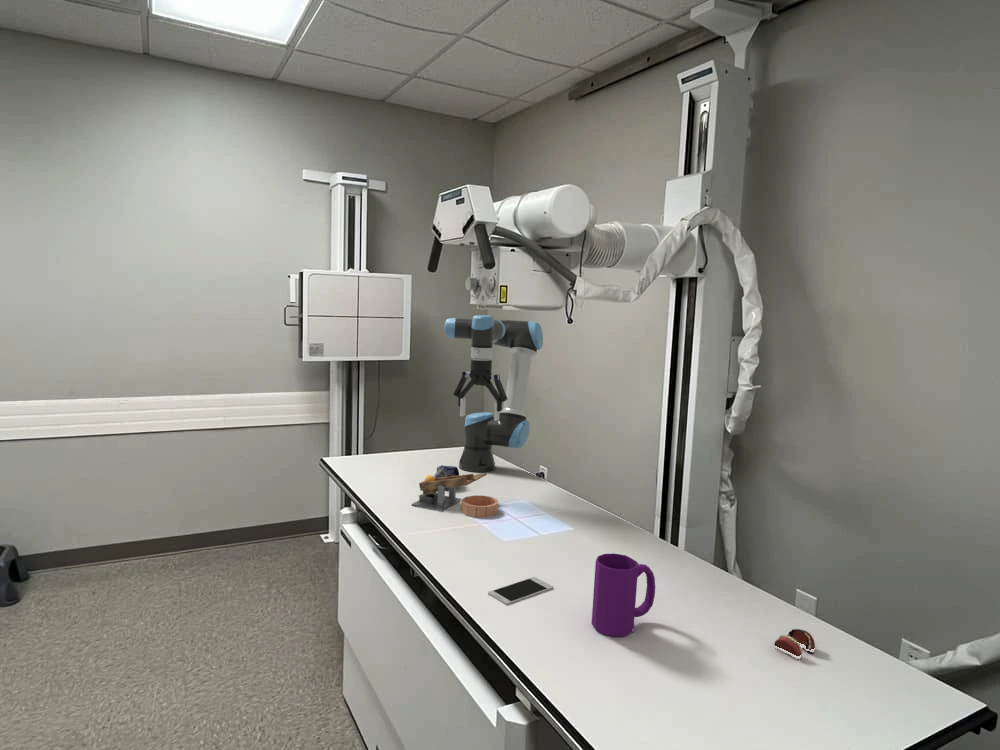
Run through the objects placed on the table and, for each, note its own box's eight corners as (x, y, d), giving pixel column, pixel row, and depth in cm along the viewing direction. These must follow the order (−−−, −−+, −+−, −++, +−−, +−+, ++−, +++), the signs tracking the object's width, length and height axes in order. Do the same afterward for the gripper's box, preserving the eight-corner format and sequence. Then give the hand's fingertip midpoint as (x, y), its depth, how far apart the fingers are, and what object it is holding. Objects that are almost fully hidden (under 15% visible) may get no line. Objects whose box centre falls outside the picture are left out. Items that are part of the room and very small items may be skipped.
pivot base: (411, 505, 212) (412, 483, 211) (432, 495, 225) (433, 473, 224) (441, 511, 208) (442, 488, 207) (461, 500, 220) (461, 478, 220)
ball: (430, 485, 219) (426, 476, 219) (438, 482, 217) (434, 472, 218) (425, 488, 216) (421, 478, 216) (433, 484, 214) (429, 474, 215)
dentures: (772, 630, 131) (794, 621, 136) (770, 649, 132) (791, 640, 136) (798, 644, 127) (819, 634, 131) (795, 663, 127) (816, 653, 132)
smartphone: (554, 590, 155) (554, 586, 155) (506, 607, 145) (506, 603, 145) (534, 579, 161) (534, 576, 160) (487, 595, 151) (487, 591, 150)
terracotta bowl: (471, 503, 218) (471, 493, 217) (503, 509, 213) (503, 499, 213) (455, 513, 207) (455, 502, 206) (488, 519, 202) (488, 509, 202)
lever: (421, 495, 215) (418, 483, 215) (442, 484, 229) (440, 473, 229) (468, 490, 207) (466, 477, 207) (487, 479, 221) (485, 467, 221)
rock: (461, 485, 230) (451, 460, 231) (436, 496, 231) (425, 471, 232) (467, 483, 241) (456, 459, 242) (442, 494, 241) (432, 470, 243)
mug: (582, 621, 139) (587, 556, 138) (637, 608, 147) (642, 546, 145) (608, 642, 131) (613, 573, 130) (665, 627, 138) (670, 561, 137)
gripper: (445, 357, 225) (443, 415, 228) (509, 363, 215) (507, 424, 218) (455, 355, 232) (453, 412, 235) (518, 361, 222) (515, 420, 225)
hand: (479, 418), depth 226 cm, fingers open, 13 cm apart
